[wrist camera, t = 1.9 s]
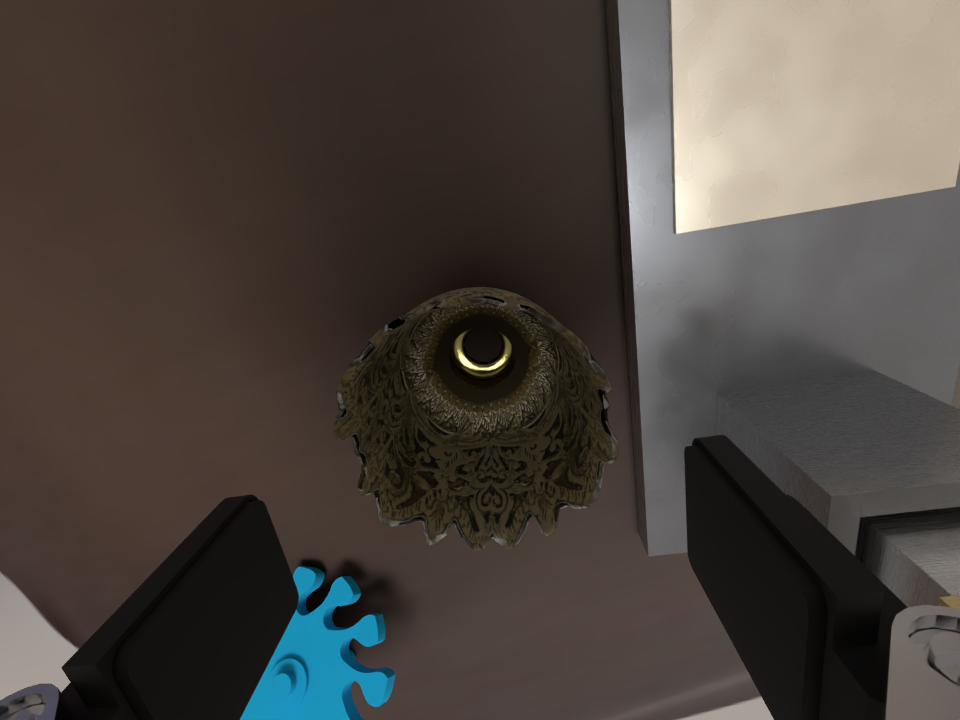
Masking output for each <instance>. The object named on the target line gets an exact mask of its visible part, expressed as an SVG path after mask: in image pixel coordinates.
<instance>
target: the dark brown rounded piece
mask: <svg viewBox="0 0 960 720" xmlns="http://www.w3.org/2000/svg"><path fill="white" fill-rule="evenodd" d="M480 327H485V328H490V329H492V330H494V331H496V332H497V333H498V334H499V336H500V337H501V340H502V351H501V354H500V355H499V357H498V358H497V359H496V360H494V361H492V362H490V363H485V364H482V363H477V362H475V361H473V360H471V359H470V358H469V357H468V355H467V354H466V352H465V348H464V342H465V339H466V337H467V335H468V334H469V333H470V332H471V331H472V330H474V329H476V328H480ZM605 389H606V392H608V391H609V390H611V385H610V383H609V380H608V378H607V376H606V374H605V372H604V371H603V369H602V368H601V367H600V365H599V364H598V363H597V361H596V360H595V359H594V358H593V357H592V355H591V354H590V352H589V350H588V348H587V347H586V346H585V344H584V343H583V342H582V341H581V340H580V339H579V338H578V337H577V336H576V335H575V334H574V333H573V332H571V331H570V330H568V329H567V328H565V327H564V326H563V325H562V324H561V323H560V322H559V321H557V320H556V319H555V318H554V317H553V316H552V315H550V314H549V313H548V312H546V311H545V310H544V309H543V308H541V307H540V306H538V305H537V304H535V303H534V302H532V301H530V300H529V299H527V298H525V297H522V296H520V295H518V294H515V293H512V292H509V291H506V290H502V289H497V288H489V287H469V288H461V289H457V290H452V291H449V292H446V293H443V294H440V295H438V296H436V297H434V298H432V299H429V300H427V301H425V302H424V303H422V304H420V305H418V306H417V307H415V308H413V309H412V310H410V311H409V312H407V313H405V314H403V315H401V316H400V317H399V318H398V319H396V320H395V321H393V322H391V323H389V324H386V325H385V326H384V327H383V328H381V329H380V330H379V331H378V332H377V333H376V334H375V335H373V336H372V337H371V338H370V339H369V344H368V345H367V347H366V348H365V349H364V350H363V352H362V353H361V354H360V355H359V356H358V357H357V358H356V359H355V360H354V361H353V362H352V363H351V365H350V366H349V368H348V369H347V371H346V373H345V374H344V376H343V378H342V380H341V382H340V384H339V386H338V390H337V398H338V401H339V402H338V406H339V410H340V414H339V415H338V416H337V418H336V420H335V423H334V438H335V439H336V440H339V441H340V440H347V439H348V438H350V437H352V439H353V442H354V450H353V453H354V455H355V456H357V457H358V458H359V459H360V462H361V463H362V465H361V470H360V471H361V475H360V478H359V481H358V491H359V493H360V494H361V495H365V496H366V495H368V494H371V493H373V492H374V495H375V501H376V506H377V510H378V516H379V518H380V520H381V522H382V523H383V524H385V525H388V526H391V527H394V526H402V525H405V524H408V523H413V522H414V521H420V522H423V526H424V528H423V533H424V534H425V536H426V540H427V542H428V544H429V545H433V544H435V543H437V542H438V541H439V540H440V539H442V538H444V537H445V535H447V534H445V533H446V531H447V530H448V529H449V528H450V526H451V525H452V524H453V523H454V524H455V527H456V530H457V532H458V535H459V537H463V538H464V540H465V541H466V542H467V544H468V545H469V546H470V547H471V548H472V549H473V550H475V551H480V550H482V549H484V548H485V547H486V545H487V543H488V541H489V540H492V538H493V536H494V538H493V539H494V540H495V541H496V542H497V543H499V544H501V545H502V546H503V547H504V548H506V549H511V548H513V547H514V546H516V545H517V544H518V543H519V541H520V540H521V538H522V536H523V534H524V533H525V531H526V529H527V526H528V522H529V519H530V518H531V517H533V518H534V519H535V520H536V521H537V523H538V525H539V527H540V529H541V531H540V532H541V533H542V534H545V535H546V536H548V535H550V534H551V533H553V532H554V530H555V529H556V528H557V523H558V516H559V515H558V514H559V510H560V509H563V508H565V507H567V506H571V507H572V508H575V509H583V508H587V507H590V506H592V505H594V503H595V501H596V500H597V497H598V495H599V492H600V489H601V485H602V479H603V470H604V466H605V463H607V462H609V463H613V462H614V461H615V460H616V458H617V456H618V441H617V438H616V436H615V435H614V434H613V432H612V431H611V428H610V426H609V423H608V413H607V411H608V409H609V403H608V400H607V398H606V393H605ZM532 522H533V521H532Z"/></svg>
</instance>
